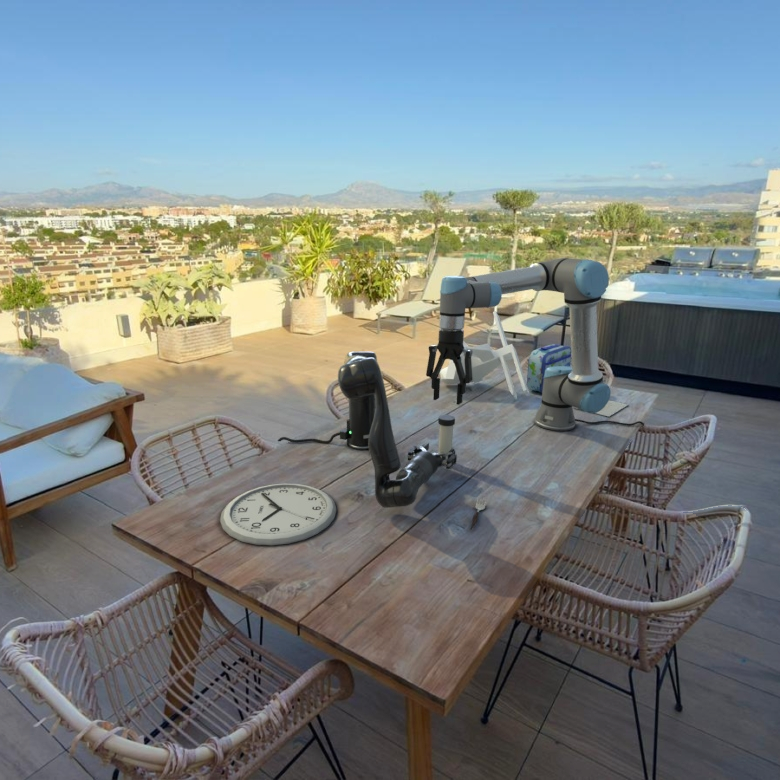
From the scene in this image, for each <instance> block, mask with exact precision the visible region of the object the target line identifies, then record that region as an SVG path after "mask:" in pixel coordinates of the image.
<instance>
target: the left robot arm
mask: <svg viewBox="0 0 780 780" xmlns="http://www.w3.org/2000/svg"><path fill="white" fill-rule="evenodd" d="M384 381H385V380H384V377H383V373H382V370H381V367H380V364H379V362H378V357H377V354H376V353H375V351H349V352H348V353H346V355H345V358H344V363H343V365H341V366H340V367H339V368H338V370H337V382H338V386H339V389H340V391H341V393H342V395H343V396H344V397H345V398H347V399H348V418H347V419H346V427H344V428H343V429H341V430H340V431H339V432H336V433H333V434H332V435H331V437H330V438H329V439H327V440H323V439H322V440H321V439H318V438H303V439H292V438H290V437H288V436H281V437H280V438H279V439H277V442H281V441H288V442H291V443H306V442H307V443H308V442H317V443H320V444H330V443H332V442H333V440H334V438H336V437H337V436H339V439H340V440H343V441H346V445H347V446H349V447H350V448H351V449H355V450H361V451H362V450H368V451H369V454H370V459H371V461H372V464H373V468H374V487H375V488H374V494H375V500H376V501H377V503H378V505H380V507H382V508H386V509H391V508H404V507H409V506H410V505H413V504H414V503H415V502H416V500H417V496H418V493H419V489H420V488H421V487H422V485H424V484H425V483H427V482H428V480H429V479H430V478H431V477H432V476H433V475H434V474H435V473H436V472H437V470H438V468H439V467H442V466H444V467H445V469H446V470H450V469H451V468H453V466H455V464H457V460H458V459H457V458H458V455H457V454H456V449H455V448H454V447H452V449H451V450H450V451H449V452H448V453H444V452H441V453H438V452H432V451H429V449H430V443H428V442H426V443H424V444H422V445H421V446H417V445H413V446H412V447H411V448H410V449H409V450H408V451H407V461H408V462H407V463H406V464H405V465H404V467H403V468H401V467H402V463H401V462H402V461H401V458H400V453H399V452H398V451H399V450H398V447H397V444H396V441H395V436H394V432H393V427H392V419H391V414H390V413H391V412H390V407H389V402H388V397H387V391H386V387H385V382H384ZM440 456H442V458H441V457H440ZM446 456H448V458H447V459H446ZM399 470H400V471H399ZM397 471H399V472H398V473H397V474H396V476H395V479H390V475H391V474H394V473H396V472H397Z"/></svg>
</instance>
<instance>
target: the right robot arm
mask: <svg viewBox="0 0 780 780" xmlns="http://www.w3.org/2000/svg"><path fill="white" fill-rule="evenodd" d="M609 283H610V275H609V272H608V270H607V267H605V265H604V264H603V263H601V262H600V261H597V260H592V259H588V258H587V259H586V258H569V257H561V258H554V259H549V260H545V261H539V262H534V263H532V264H531V265H530V266H528V267H522V268H517V269H508V270H503V271H496V272H491V273H486V274H479V275H472V276H467V277H466V276H459V275H447V276H443V277H442V279H441V284H440V290H439V293H440V295H439V296H440V297H439V302H440V303H439V319H438V320H439V321H438V327H439V329H438V339H437V340H438V343H437V344H436V345H435V344H432V345H429V346H428V352H429V354H428V359H427V360H428V361H427V365H426V372H425V376H426V378H427V377H428V378H430V379H431V389H432V390H433V399H432V400H433V401H437V400H439V399H440V389H441V377H439V376H440V371H441V369H443V366H444V364H445V361H446V360H449V361H450V360H453V363H454V364H455V367H456V370H457V374H458V377H459V380H460V383H459V384H457V387H456V389H457V390H456V405H460V404H462V403H463V396H464V394H466V391H467V384H470V383H472V382H471V381H472V363H471V356H472V353H473V351H472V350H467V349H464V346H463V340H464V336H465V334H464V333H465V331H464V328H465V319H466V309H481V308H483V309H484V308H486V309H489V308H494V307H495V308H496V307H497V306H498V305H499V304H500V303H501V301H502V295H506V294H514V293H519V292H525V291H529V290H533V291H534V292H540V291H549V292H556V293H561V294H563V297H564V298H563V300H564V301H563V302H564V304H565V305H567V307H569V308H568V309H569V326H570V327H569V328H570V348H571V366H570V367H567V366H556V367H549V368H547V369H546V370H545V375H544V380H543V390H542V393H541V402H540V405H539V407H538V410H537V411H536V413H535V417H534V424H535V425H536V426H537V427H539V428H542V429H544V430H549V431H556V432H567V431H572V430H574V429H575V428H576V422H579V423H583V424H588V425H597V424H605V423H610V424H616V425H621V426H629V427H630V426H631V427H632V426H636V425H638V424H640V425H642V426H645V423H644V422H643V421H640V420H638V421H636V422H633V423H625V422H621V421H615V420H599V421H587V420H584V419H583V420H582V419H577V418H575V417H576V416H575V413H574V409H576V408H578V409H577V410H580V411H581V412H583V413H588V414H596V412H599V411H600V410H602V409H603V408H604V407H605V405H606V404H607V403H608V401H609V400H610V399H611V394H612V393H611V392H612V391H611V388H610V386H609V385H608V383H605V382H604V374H603V372H602V371H601V370H599V355H598V352H599V351H598V350H599V349H598V313H597V312H598V311H597V307H598V306H597V305H598V304H599V302H601V300H602V296H603V295H605V293H606V291H607V288H608V287H609ZM437 352H439V357H438V360H437V361H436V357H437ZM462 352H463V353H464V357H465V373H464V369H463V366H462V363H461V357H460V355H461V354H462ZM436 362H437V363H436ZM574 407H575V408H574Z"/></svg>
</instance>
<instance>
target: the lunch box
mask: <svg viewBox="0 0 780 780" xmlns="http://www.w3.org/2000/svg"><path fill="white" fill-rule="evenodd" d="M571 364H572V353H571V346H567V345H566V346H565V345H561V344H556V343H555V344H554V343H553V344H548V345H545V346H541V347H539V348H536V349H534V350H532V351H531V353H530V355H529V357H528V363H527V375H526V384H527V387H528V390H529V391H532V392H533V391H534V392H539V393H540V394H542V390H543V380H544V375H545V370H546V369H547V368H549V367H556V366H567V367H571Z"/></svg>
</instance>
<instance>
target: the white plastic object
mask: <svg viewBox="0 0 780 780" xmlns="http://www.w3.org/2000/svg"><path fill="white" fill-rule="evenodd" d="M492 315H493V319H494V321H495V324H496V325H495V326H496V328H497V332H498V335H499V338H500V342H501V345H502V347H500V348H498V349H496V350H495V349H493V348H492V347H491V346H490V344H489V343H488V342H487V343H483V344H479V345H473V346H469V345H468V343H466V342H465V340H464V339H463V346H464V349H467V350H472V351H473V353H472V356H471V363H472V381H471V382H470V383H473V384H477V383H480V382H482V381H484V378H485V377H486V376H487V375H489V374H490V373H492V372H494V371H495V370H496V369H497V368H499V367H500V366H502V370H503V373H504V376H505V380H506V383H507V386H508V390H509V393H510V394H511V395H512V397H513V398H514V399H515V400H517V392H516V391H517V390H516V388H515V385H514V381H513V378H512V375H511V371H510V369H509V365H508V361H510V360H513V363H514V366H515V369H516V372H517V376H518V380H519V382H520V385H521V389H522V391H523V393H524V395H525V396H526V397H528V396H531V395H530V390H529V389H528V387H527V380H526V378H525V375H524V371H523V369H522V368H523V367H522V366H521V362H520V359H519V355H518V352H517V349H516V347H515V346H514V345H513V343H511V344H508V341H507V337H506V334H505V331H504V328H503V325H502V321H501V318H500V315H499V314H498V312H497V311H496V310H495V311H492ZM460 357H461V363H462V366H463V369H464V373H465V357H464V353H463V352H462V354H461V355H460ZM439 376H440V381H442V383H443V384H444V385H445V386H449V385H458V384H459V383H460V380H459V377H458V374H457V370H456V367H455V364H454V363H453V360H450V359H449V362H448V366H446V367H444V368H441V371H440V373H439Z"/></svg>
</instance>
